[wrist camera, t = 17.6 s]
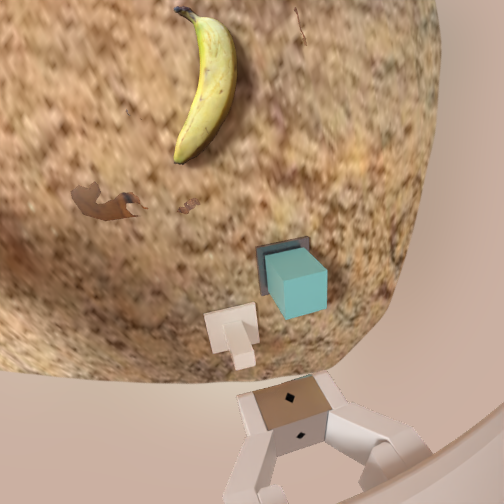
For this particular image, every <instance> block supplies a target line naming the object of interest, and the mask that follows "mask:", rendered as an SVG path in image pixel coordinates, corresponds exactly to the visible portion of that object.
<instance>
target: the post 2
mask: <svg viewBox="0 0 504 504" xmlns="http://www.w3.org/2000/svg"><path fill="white" fill-rule="evenodd" d="M303 247H304V248H305V249H306V250H307V251H308V252H309V237H308V236H305V237H300V238H295V239H290V240H285V241H281V242H276V243H271V244H266V245H261V246H257V247H255V248H256V257H257V266H258V275H259V284H260V294H261V296H264V295H268V294H270V293H269V292H268V282H267V272H266V261H265V256H266V255H271V254H275V253H280V252H285V251H289V250H294V249H298V248H303Z"/></svg>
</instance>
